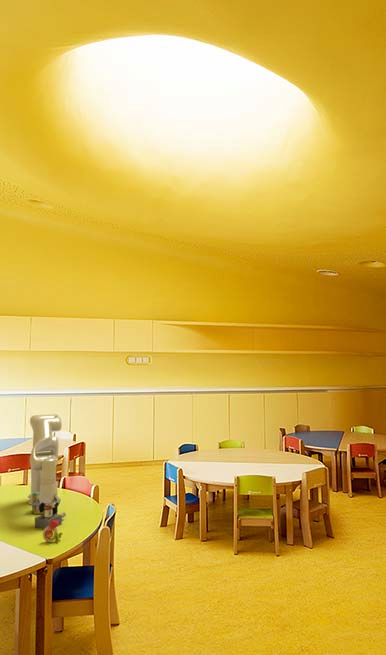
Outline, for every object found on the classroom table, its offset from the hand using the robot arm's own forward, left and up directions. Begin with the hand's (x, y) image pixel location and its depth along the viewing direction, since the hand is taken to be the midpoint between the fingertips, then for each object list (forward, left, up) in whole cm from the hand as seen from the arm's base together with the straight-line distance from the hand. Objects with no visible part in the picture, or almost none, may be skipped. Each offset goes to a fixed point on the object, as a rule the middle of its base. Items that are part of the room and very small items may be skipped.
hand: (48, 513), depth 249 cm
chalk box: (-22, +16, -7) cm, 28 cm away
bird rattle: (+20, -16, -7) cm, 27 cm away
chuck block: (0, +3, -7) cm, 8 cm away
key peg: (0, 0, -7) cm, 7 cm away
